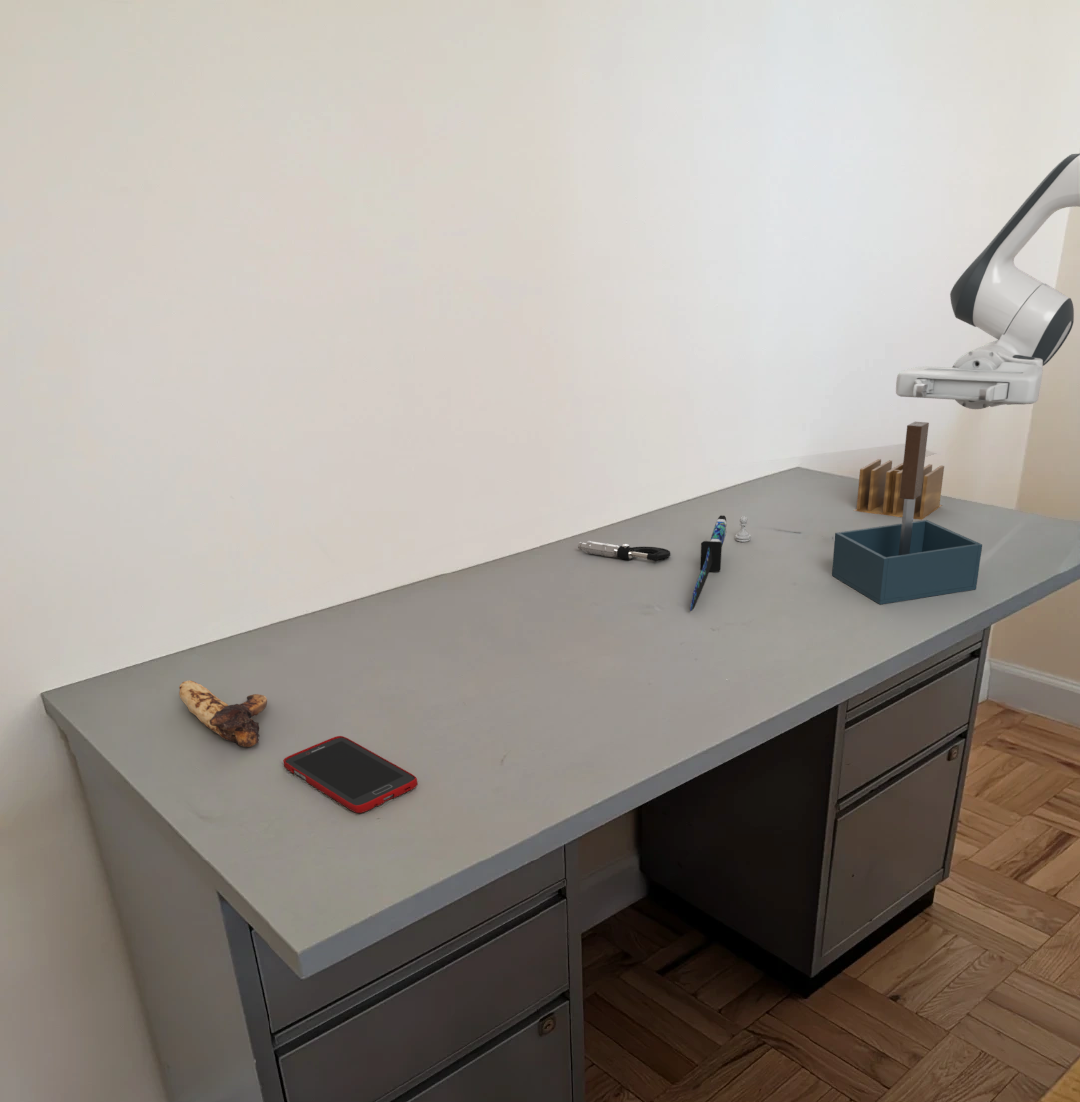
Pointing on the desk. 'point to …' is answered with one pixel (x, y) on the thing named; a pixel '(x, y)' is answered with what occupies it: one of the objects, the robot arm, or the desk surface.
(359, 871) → the desk surface
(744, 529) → the pawn
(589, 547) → the micrometer
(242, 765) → the desk surface
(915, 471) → the kitchen knife
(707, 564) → the knife
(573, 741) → the desk surface
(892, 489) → the dish rack
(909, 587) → the open box
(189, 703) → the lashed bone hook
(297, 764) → the cell phone
